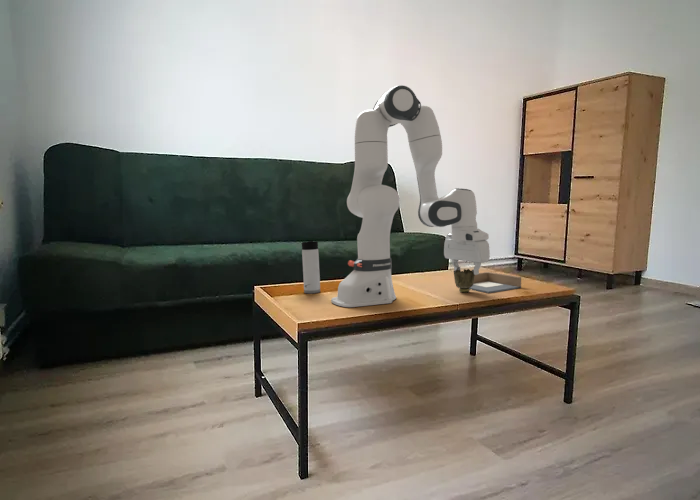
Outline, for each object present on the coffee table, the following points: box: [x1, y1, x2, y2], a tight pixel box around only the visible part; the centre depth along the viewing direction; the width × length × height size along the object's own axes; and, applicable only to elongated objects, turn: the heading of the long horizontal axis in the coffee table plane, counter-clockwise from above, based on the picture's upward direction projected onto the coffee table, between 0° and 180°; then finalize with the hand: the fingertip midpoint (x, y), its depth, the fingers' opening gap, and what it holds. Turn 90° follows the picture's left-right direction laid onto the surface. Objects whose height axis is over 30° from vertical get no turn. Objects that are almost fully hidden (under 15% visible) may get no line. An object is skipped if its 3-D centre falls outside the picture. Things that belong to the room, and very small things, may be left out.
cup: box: [453, 268, 475, 294], centre depth 163 cm, size 8×7×8 cm
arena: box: [469, 271, 522, 294], centre depth 171 cm, size 16×17×4 cm
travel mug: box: [301, 240, 321, 295], centre depth 175 cm, size 6×7×20 cm
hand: (466, 272), depth 163 cm, fingers open, 8 cm apart
